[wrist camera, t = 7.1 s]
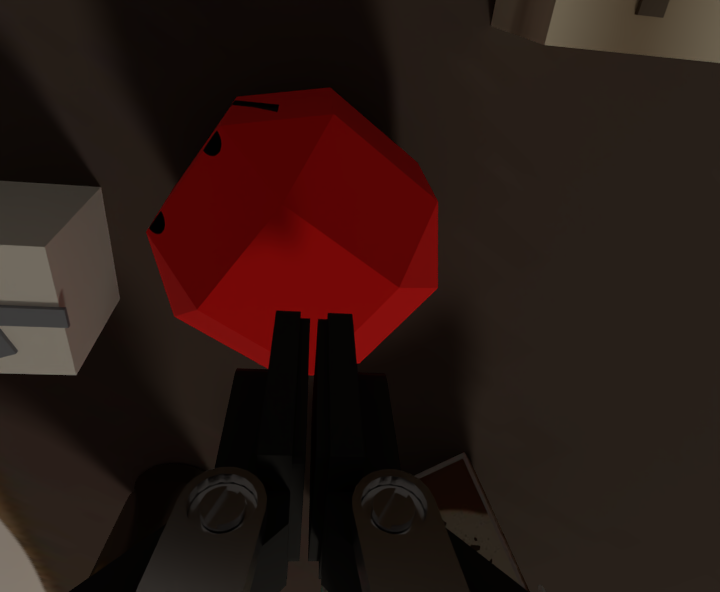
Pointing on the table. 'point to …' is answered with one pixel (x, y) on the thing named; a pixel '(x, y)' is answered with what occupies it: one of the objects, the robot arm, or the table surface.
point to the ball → (297, 225)
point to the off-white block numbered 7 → (53, 276)
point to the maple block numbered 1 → (618, 25)
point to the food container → (470, 513)
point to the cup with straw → (146, 508)
